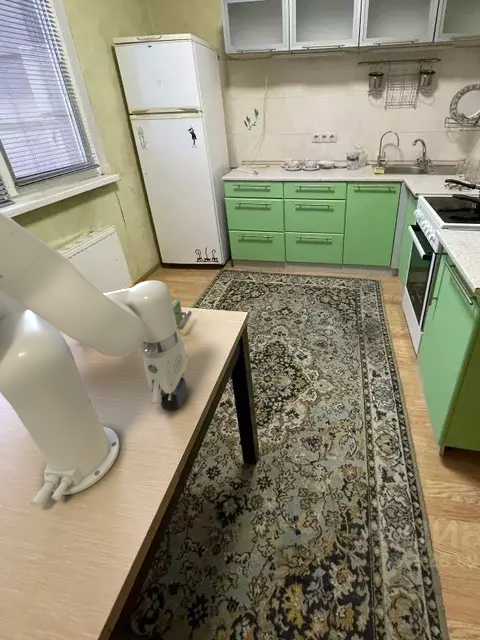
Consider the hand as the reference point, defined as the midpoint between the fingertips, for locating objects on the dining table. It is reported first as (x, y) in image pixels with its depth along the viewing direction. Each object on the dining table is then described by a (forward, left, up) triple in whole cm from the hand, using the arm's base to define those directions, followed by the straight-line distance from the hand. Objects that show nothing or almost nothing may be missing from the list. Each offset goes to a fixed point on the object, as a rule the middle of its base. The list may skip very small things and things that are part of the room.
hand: (174, 398), depth 75 cm
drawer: (+23, +14, 0) cm, 27 cm away
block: (0, 0, 0) cm, 0 cm away
